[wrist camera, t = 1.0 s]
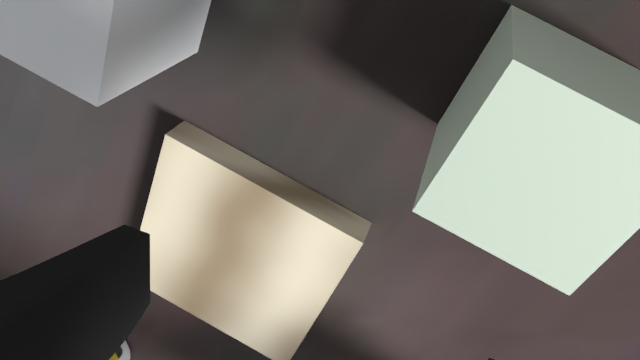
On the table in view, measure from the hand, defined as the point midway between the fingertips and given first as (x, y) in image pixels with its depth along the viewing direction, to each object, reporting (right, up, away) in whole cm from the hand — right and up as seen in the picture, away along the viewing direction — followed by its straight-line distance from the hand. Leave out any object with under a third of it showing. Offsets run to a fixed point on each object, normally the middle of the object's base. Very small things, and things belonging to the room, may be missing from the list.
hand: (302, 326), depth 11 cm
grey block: (-6, +11, +8) cm, 15 cm away
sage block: (+8, +6, +7) cm, 11 cm away
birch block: (-3, 0, +14) cm, 14 cm away
